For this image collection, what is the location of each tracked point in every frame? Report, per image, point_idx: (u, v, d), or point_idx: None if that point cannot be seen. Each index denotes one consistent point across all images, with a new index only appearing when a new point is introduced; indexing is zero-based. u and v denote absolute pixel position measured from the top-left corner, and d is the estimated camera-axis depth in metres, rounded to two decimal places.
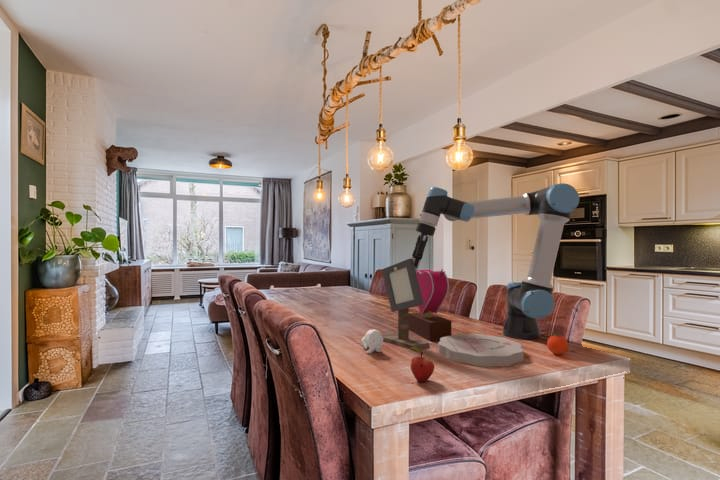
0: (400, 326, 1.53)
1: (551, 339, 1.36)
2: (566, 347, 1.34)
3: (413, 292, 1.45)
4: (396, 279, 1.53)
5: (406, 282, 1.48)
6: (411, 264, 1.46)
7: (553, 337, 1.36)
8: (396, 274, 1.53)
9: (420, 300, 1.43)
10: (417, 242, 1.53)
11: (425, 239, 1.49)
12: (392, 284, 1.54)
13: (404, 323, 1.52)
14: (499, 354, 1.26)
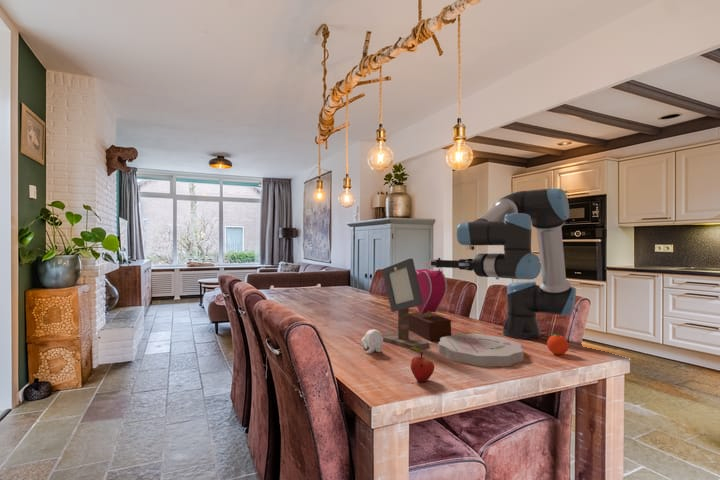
0: (400, 326, 1.53)
1: (551, 339, 1.36)
2: (566, 347, 1.34)
3: (413, 292, 1.45)
4: (396, 279, 1.53)
5: (406, 282, 1.48)
6: (411, 264, 1.46)
7: (553, 337, 1.37)
8: (396, 274, 1.53)
9: (420, 300, 1.43)
10: None
11: None
12: (392, 284, 1.54)
13: (404, 323, 1.52)
14: (499, 354, 1.26)
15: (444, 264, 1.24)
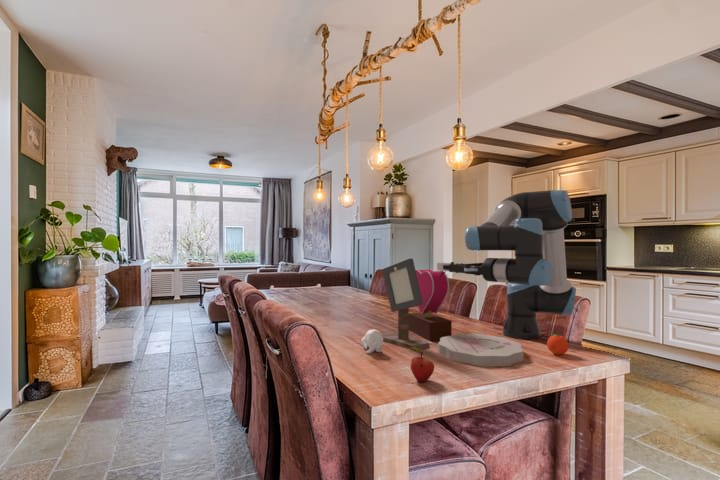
0: (400, 326, 1.53)
1: (551, 339, 1.36)
2: (566, 347, 1.34)
3: (413, 292, 1.45)
4: (396, 279, 1.53)
5: (406, 282, 1.48)
6: (411, 264, 1.46)
7: (553, 337, 1.37)
8: (396, 274, 1.53)
9: (420, 300, 1.43)
10: None
11: None
12: (392, 284, 1.54)
13: (404, 323, 1.52)
14: (499, 354, 1.26)
15: (454, 269, 1.26)
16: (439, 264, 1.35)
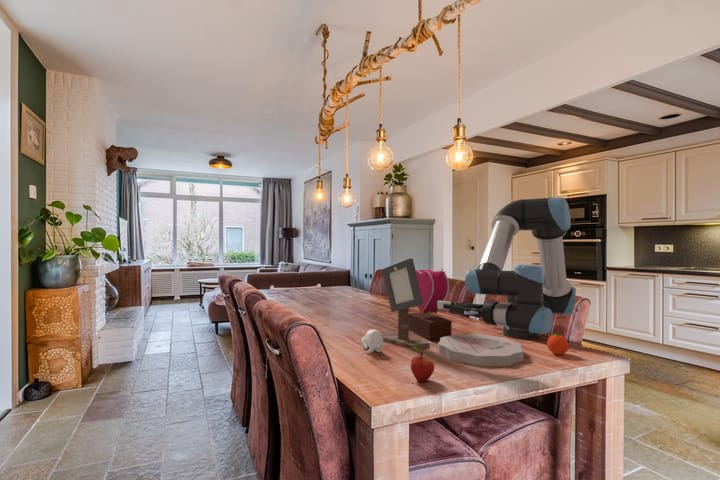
0: (400, 326, 1.53)
1: (551, 339, 1.36)
2: (566, 347, 1.34)
3: (413, 292, 1.45)
4: (396, 279, 1.53)
5: (406, 282, 1.48)
6: (411, 264, 1.46)
7: (553, 337, 1.37)
8: (396, 274, 1.53)
9: (420, 300, 1.43)
10: None
11: None
12: (392, 284, 1.54)
13: (404, 323, 1.52)
14: (499, 354, 1.26)
15: (454, 310, 1.26)
16: (439, 302, 1.35)
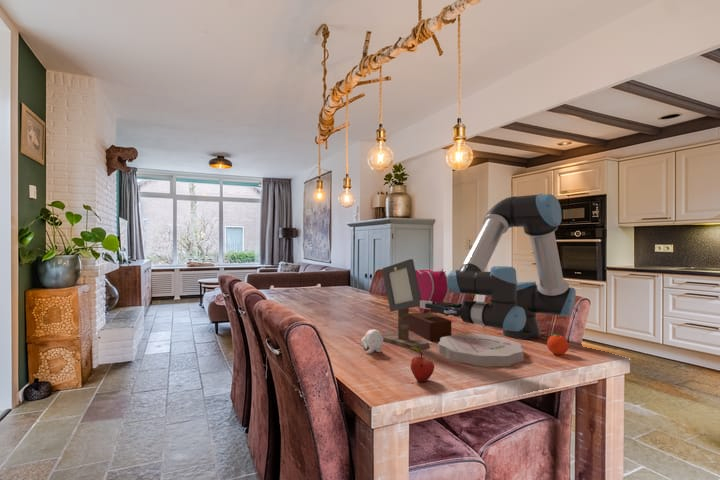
0: (400, 326, 1.53)
1: (551, 339, 1.36)
2: (566, 347, 1.34)
3: (412, 293, 1.45)
4: (396, 279, 1.53)
5: (406, 283, 1.48)
6: (411, 265, 1.46)
7: (553, 337, 1.37)
8: (396, 274, 1.53)
9: (419, 301, 1.43)
10: None
11: None
12: (392, 284, 1.55)
13: (404, 323, 1.52)
14: (499, 354, 1.26)
15: (435, 309, 1.32)
16: (421, 302, 1.41)
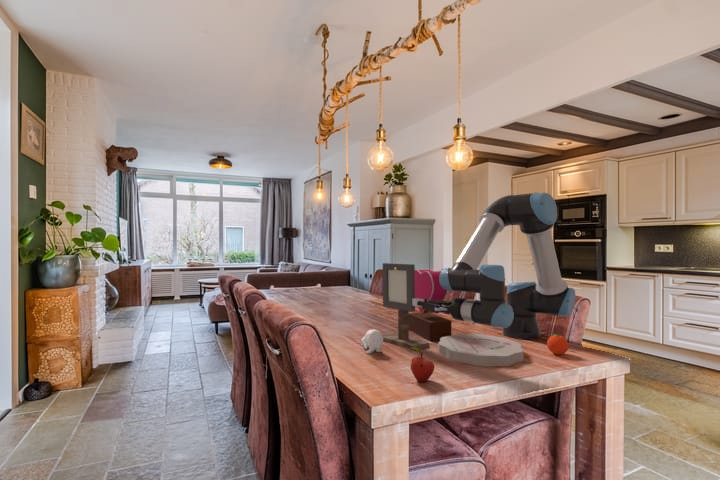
0: (400, 326, 1.53)
1: (551, 339, 1.36)
2: (566, 347, 1.34)
3: (407, 297, 1.47)
4: (394, 278, 1.54)
5: (403, 285, 1.50)
6: (412, 270, 1.46)
7: (553, 337, 1.37)
8: (395, 273, 1.53)
9: (412, 307, 1.46)
10: None
11: None
12: (389, 281, 1.56)
13: (404, 323, 1.52)
14: (499, 354, 1.26)
15: (426, 307, 1.35)
16: (414, 300, 1.44)
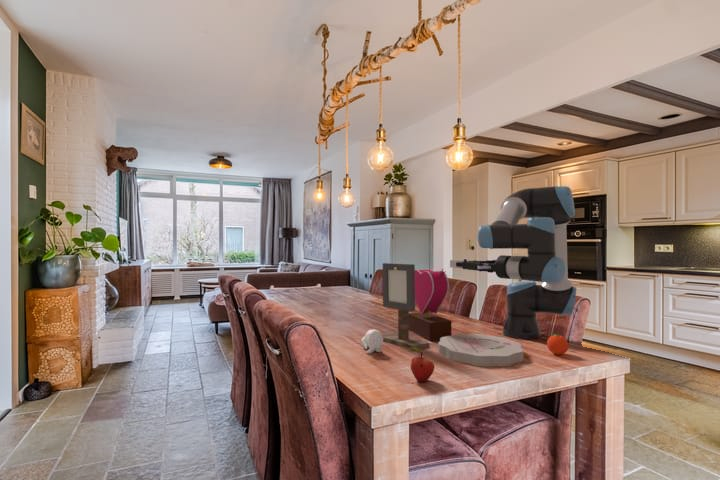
0: (400, 326, 1.53)
1: (551, 339, 1.36)
2: (566, 347, 1.34)
3: (407, 297, 1.47)
4: (394, 278, 1.54)
5: (403, 285, 1.50)
6: (412, 270, 1.46)
7: (553, 337, 1.37)
8: (395, 273, 1.53)
9: (412, 307, 1.46)
10: None
11: None
12: (389, 281, 1.56)
13: (404, 323, 1.52)
14: (499, 354, 1.26)
15: (467, 266, 1.30)
16: (452, 261, 1.39)
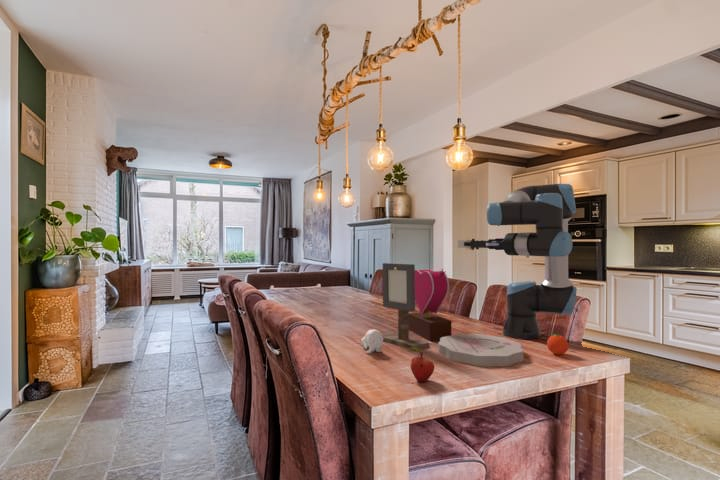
0: (400, 326, 1.53)
1: (551, 339, 1.36)
2: (566, 347, 1.34)
3: (407, 297, 1.47)
4: (394, 278, 1.54)
5: (403, 285, 1.50)
6: (412, 270, 1.46)
7: (553, 337, 1.37)
8: (395, 273, 1.53)
9: (412, 307, 1.46)
10: None
11: None
12: (389, 281, 1.56)
13: (404, 323, 1.52)
14: (499, 354, 1.26)
15: (476, 244, 1.32)
16: (460, 241, 1.42)
